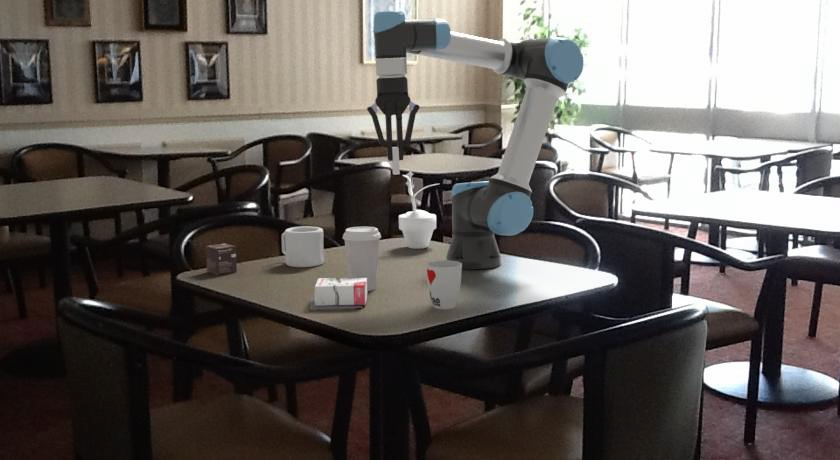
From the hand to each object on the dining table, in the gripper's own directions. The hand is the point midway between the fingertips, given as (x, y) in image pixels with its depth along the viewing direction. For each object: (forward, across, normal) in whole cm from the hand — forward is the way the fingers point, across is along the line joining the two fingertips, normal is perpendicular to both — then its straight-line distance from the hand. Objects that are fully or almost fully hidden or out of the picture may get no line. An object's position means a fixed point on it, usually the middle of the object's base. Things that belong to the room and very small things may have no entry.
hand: (396, 173), depth 237 cm
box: (+28, +46, -26) cm, 60 cm away
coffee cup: (+28, +10, 0) cm, 30 cm away
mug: (+28, +25, -34) cm, 51 cm away
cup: (+29, -8, +22) cm, 37 cm away
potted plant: (+30, -11, -52) cm, 61 cm away
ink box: (+25, +9, +15) cm, 31 cm away
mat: (+28, +17, +15) cm, 36 cm away
